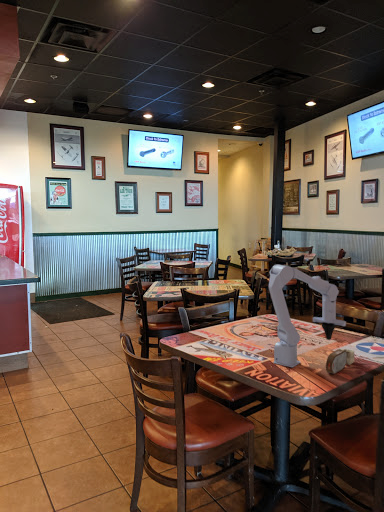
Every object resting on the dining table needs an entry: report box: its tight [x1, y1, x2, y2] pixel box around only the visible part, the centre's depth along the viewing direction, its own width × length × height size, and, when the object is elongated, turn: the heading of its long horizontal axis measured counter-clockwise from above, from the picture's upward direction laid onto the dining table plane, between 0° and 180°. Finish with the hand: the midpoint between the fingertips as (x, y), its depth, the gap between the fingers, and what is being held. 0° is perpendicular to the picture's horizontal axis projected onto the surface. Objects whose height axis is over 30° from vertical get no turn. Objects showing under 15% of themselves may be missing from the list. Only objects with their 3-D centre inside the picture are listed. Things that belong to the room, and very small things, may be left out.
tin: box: [325, 348, 347, 375], centre depth 162 cm, size 15×3×8 cm, turn 135°
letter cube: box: [341, 348, 355, 366], centre depth 172 cm, size 5×5×5 cm
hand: (328, 339), depth 177 cm, fingers closed
